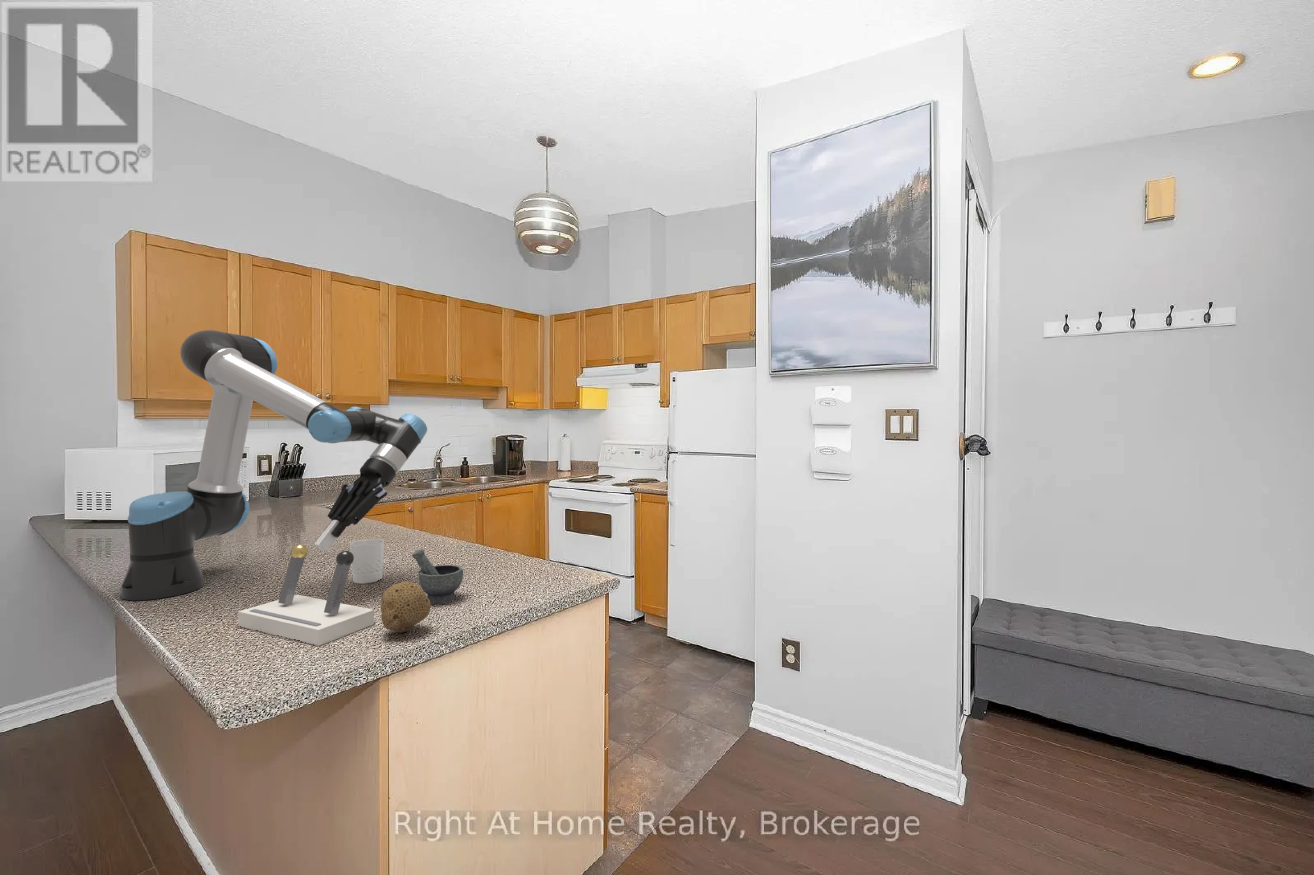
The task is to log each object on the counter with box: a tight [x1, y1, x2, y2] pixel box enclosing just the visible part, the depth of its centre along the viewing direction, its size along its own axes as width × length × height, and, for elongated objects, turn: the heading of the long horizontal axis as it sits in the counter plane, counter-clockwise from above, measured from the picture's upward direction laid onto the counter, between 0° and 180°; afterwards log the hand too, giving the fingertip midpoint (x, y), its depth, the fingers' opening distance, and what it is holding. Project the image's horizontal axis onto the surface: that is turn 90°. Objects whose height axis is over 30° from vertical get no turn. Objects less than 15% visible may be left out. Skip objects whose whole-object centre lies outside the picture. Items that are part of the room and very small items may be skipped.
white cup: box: [349, 538, 385, 585], centre depth 146 cm, size 8×8×10 cm
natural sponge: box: [380, 580, 432, 634], centre depth 111 cm, size 9×9×10 cm
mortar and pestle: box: [411, 548, 464, 605], centre depth 131 cm, size 11×9×12 cm
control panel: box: [237, 594, 375, 647], centre depth 114 cm, size 12×24×3 cm, turn 67°
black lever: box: [324, 550, 354, 614], centre depth 113 cm, size 3×3×12 cm
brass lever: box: [278, 543, 309, 604], centre depth 119 cm, size 3×3×12 cm
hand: (320, 547), depth 124 cm, fingers closed
